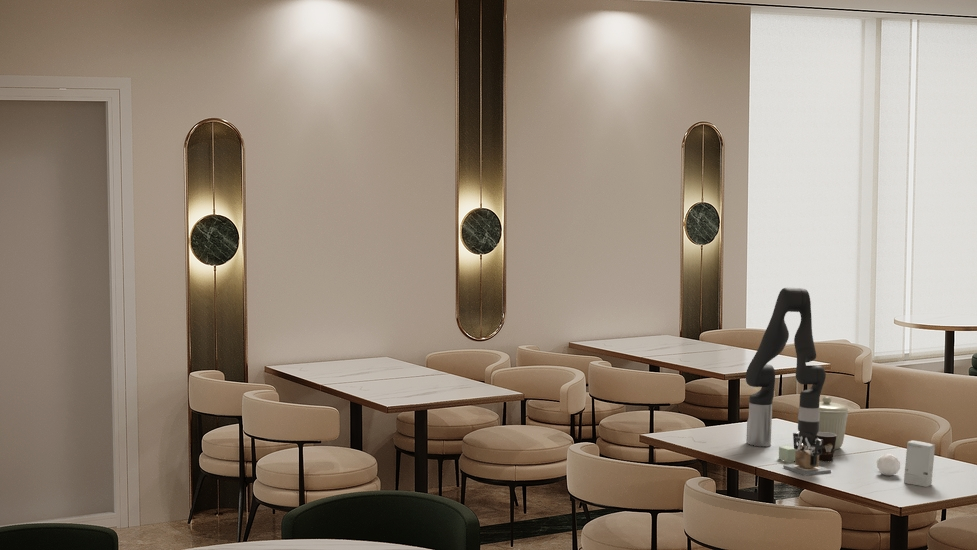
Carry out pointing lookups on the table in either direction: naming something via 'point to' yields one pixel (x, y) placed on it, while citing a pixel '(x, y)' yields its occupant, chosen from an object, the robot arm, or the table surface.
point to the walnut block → (804, 459)
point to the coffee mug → (827, 446)
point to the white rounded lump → (888, 464)
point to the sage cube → (787, 453)
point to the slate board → (807, 469)
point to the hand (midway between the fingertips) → (807, 463)
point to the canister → (833, 419)
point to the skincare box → (919, 463)
